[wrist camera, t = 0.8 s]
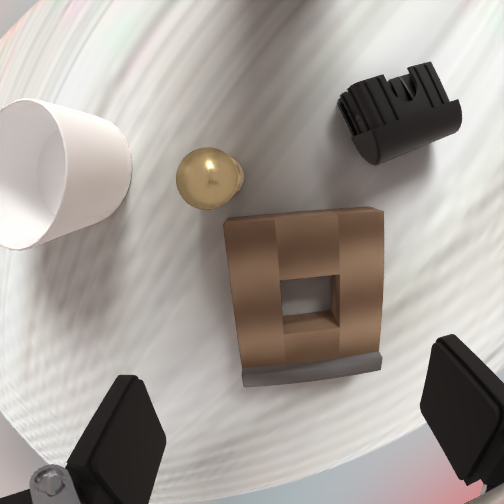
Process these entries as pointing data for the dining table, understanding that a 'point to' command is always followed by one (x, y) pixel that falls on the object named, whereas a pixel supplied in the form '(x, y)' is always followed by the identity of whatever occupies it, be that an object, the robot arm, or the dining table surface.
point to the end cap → (399, 113)
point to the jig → (305, 266)
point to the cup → (57, 171)
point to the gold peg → (208, 178)
